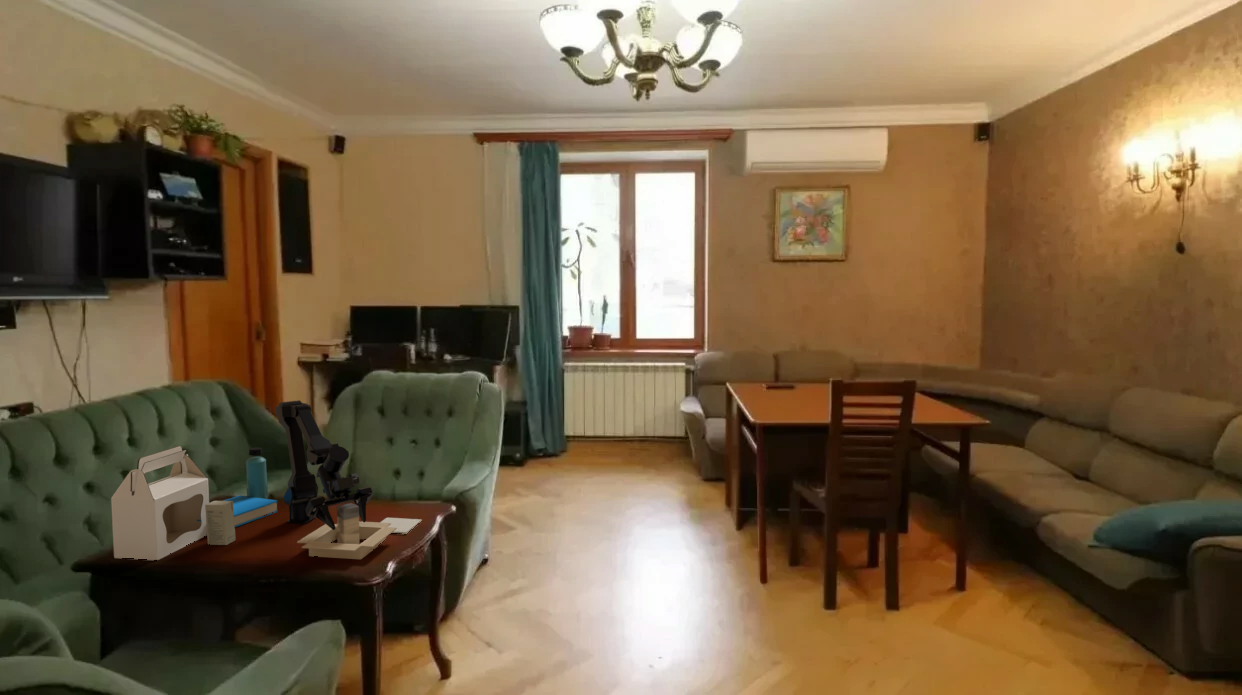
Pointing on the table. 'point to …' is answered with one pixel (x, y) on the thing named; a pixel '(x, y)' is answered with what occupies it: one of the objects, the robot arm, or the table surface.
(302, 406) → the robot arm
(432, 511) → the table surface
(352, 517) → the capped block
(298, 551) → the table surface
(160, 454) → the gable box
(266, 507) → the book
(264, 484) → the beverage bottle
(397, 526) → the white square tile
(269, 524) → the table surface
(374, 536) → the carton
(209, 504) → the skincare box
